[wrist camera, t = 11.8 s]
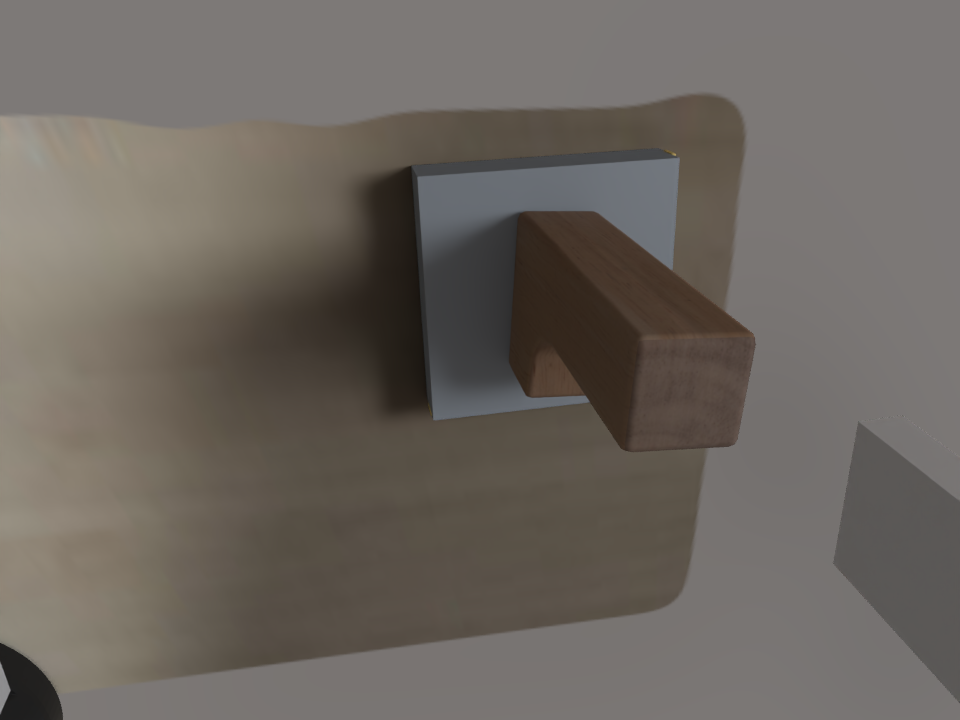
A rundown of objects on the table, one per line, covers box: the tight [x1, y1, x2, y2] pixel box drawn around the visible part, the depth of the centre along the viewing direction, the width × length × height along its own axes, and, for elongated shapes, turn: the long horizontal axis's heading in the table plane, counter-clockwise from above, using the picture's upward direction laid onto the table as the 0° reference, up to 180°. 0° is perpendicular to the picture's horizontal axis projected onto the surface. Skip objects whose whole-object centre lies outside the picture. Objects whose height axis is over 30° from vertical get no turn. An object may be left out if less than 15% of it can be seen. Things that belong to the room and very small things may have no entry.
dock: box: [411, 148, 680, 420], centre depth 47 cm, size 14×14×3 cm
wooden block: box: [509, 211, 756, 452], centre depth 37 cm, size 9×4×18 cm, turn 178°
